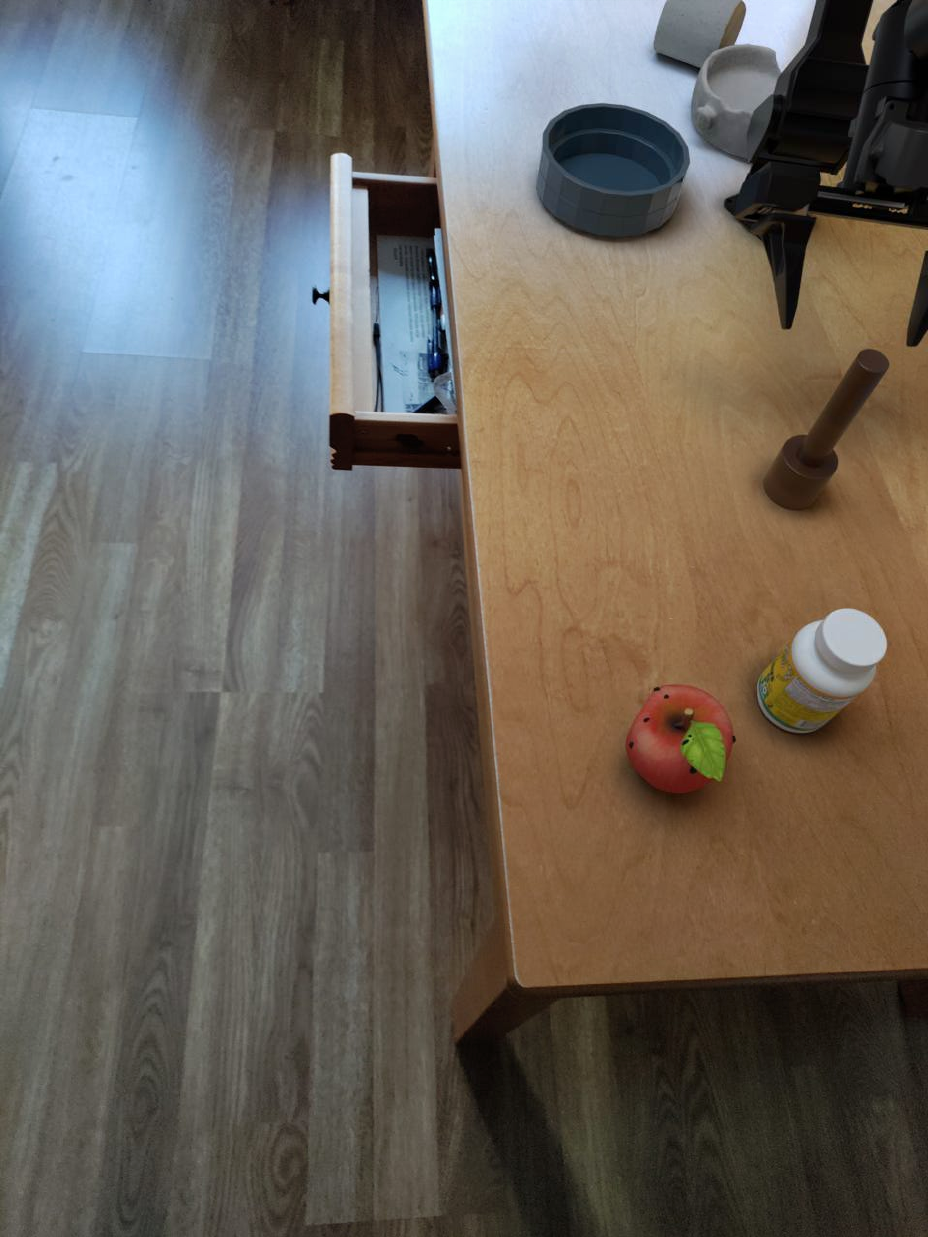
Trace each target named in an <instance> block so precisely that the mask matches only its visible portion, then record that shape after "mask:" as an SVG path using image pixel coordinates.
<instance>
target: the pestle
mask: <svg viewBox="0 0 928 1237" xmlns="http://www.w3.org/2000/svg"><path fill="white" fill-rule="evenodd" d="M889 369H890V360H889V358H888V357H887V356H886V355H885V354H884V353H882V352H881V351H879V350H877V349H873V348H866V349H863V350H860V351H859V352H858V353H857V355H856V357H854V359H853V361H852V363H851V364H850V366H849V367H848V369H847V371H846V372H845V374H844V375H843V377H842V378H841V380H840V382H839V383H838V385H837V387H836V388H835V390H834V391H833V393H832V394H831V396H830V398H829V399H828V400H827V402H826V404H825V406H824V407H823V408H822V410H821V412H820V413H819V414H818V417H817V418H816V420H814V423H813V424H812V426H811V428H810V429H809V430H808V433H807V434H796V435H794V436H791V437H789V438H788V439H786V440H785V442H784V443H783V445H782V447H781V449H780V450H779V452H778V453H777V455H776V456H775V458H774V459H773V462H772V463H771V465H770V466H769V468H768V470H767V472H766V473H765V475H764V477H763V488H764V491H765V493H766V494H767V496H768V497H769V499H771V500H772V501H773V502H774V503H775V504H777V505H778V506H781V507H783V508H785V509H789V510H803V509H807V508H809V507H810V506H812V505H813V504H814V503H815V501H816V500H817V498H818V497H819V495H820V494H821V493H822V491H823V490H824V489H825V487H826V486H827V485H828V483H829V481H830V480H831V479H832V477H833V476H834V474H835V473H836V472H837V470H838V467H839V457H838V454H837V452H836V450H835V447H836V446H837V444H838V443H839V442H840V440H841V439H842V437H843V436H844V434H845V433H846V431H847V430H848V429H849V427H850V426H851V425H852V422H853V421H854V420H855V418H856V417H857V415H858V414H859V412H860V411H861V409H862V408H863V407H864V405H865V404H866V402H867V401H868V399H869V398H870V397H871V395H872V394H873V392H874V391H875V389H876V388H877V386H878V385H879V384H880V382H881V380H882V379H883V378H884V376H885V375H886V373H887V372H888V370H889Z"/></svg>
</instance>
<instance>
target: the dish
mask: <svg viewBox="0 0 928 1237" xmlns="http://www.w3.org/2000/svg"><path fill="white" fill-rule="evenodd" d="M699 69H700V70H699V72H698V74H697V78H696V80H695V84H694V87H693V91H692V96H691V101H690V115H691V119H692V122H693V125H694V127H695V129H696V130H697V132H698V133H699V134H700V136H701V137H702V138H703V139H704V140H706V141H707V143H709V144H711V145H712V146H714V147H716V148H718V149H720V150H722V151H724V152H726V153H729V154H731V155H735V156H738V157H741V158H745V159H748V149H747V132H748V128H749V125H750V121H751V118H752V114H753V112H754V110H755V109H756V108H757V107H758V106H759V105H760V104H761V103H763V102H764V101H765V100H766V99H767V98H768V97H769V96H770V95H771V94H773V93H774V90H775V86H776V82H777V79H778V77H779V76H780V74H781V73H782V71H781V68H780V67H779V63H778V60H777V52H776V50H774V49H773V48H771V47H769V46H768V47H767V46H764V45H758V44H751V43H742V44H734V45H732V46H728V47H724V48H722V49H719V50H717V51H715V52H713V53H712V54H711V55H710V56H709V57H708V58H707V60H706V61H705V62H704V63H703V65H702V67H701V68H699Z"/></svg>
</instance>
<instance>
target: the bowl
mask: <svg viewBox="0 0 928 1237" xmlns="http://www.w3.org/2000/svg"><path fill="white" fill-rule="evenodd" d="M540 143H541V144H540V148H539V154H538V162H537V167H536V175H535V191H536V192H537V195H538V196H539V199H540V201H541V203H542V205H543V206H545V208H546V209H547V210H548V211H549V212H550V213H551V214H553V216H554V217H556V218H557V219H559V220H560V221H562V222H563V223H565V224H566V225H568V226H570V227H572V228H574V229H576V230H578V231H579V232H583V233H586V234H590V235H594V236H598V237H604V238H627V237H633V236H641V235H643V234H646V233H648V232H651V231H653V230H656V229H658V228H660V227H662V226H663V225H664V224H665V223H666V222H667V221H668V220H669V219H670V218H672V217H673V214H674V213H675V210H676V207H677V205H678V202H679V200H680V196H681V193H682V190H683V187H684V184H685V180H686V178H687V174H688V171H689V168H690V165H691V159H690V158H691V157H690V148H689V147H688V145H687V143H686V141H685V140H684V137H683V136H682V135H681V134H680V132H679V131H678V130H676V129H675V128H674V127H673V126H672V125H670V124H669V123H668V122H667V121H666V120H664V119H662V118H660V117H658V116H656V115H654V114H652V113H650V112H648V111H646V110H643V109H640V108H636V107H633V106H629V105H624V104H616V103H609V102H608V103H607V102H597V103H587V104H579V105H577V106H574V107H571V108H568V109H564V110H563V111H561V112H560V113H559V114H557V115H556V116H554V117H553V118H551V119H550V120H549V122H548V124H547V125H546V127H545V129H544V130H543V132H542V135H541V142H540Z"/></svg>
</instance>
